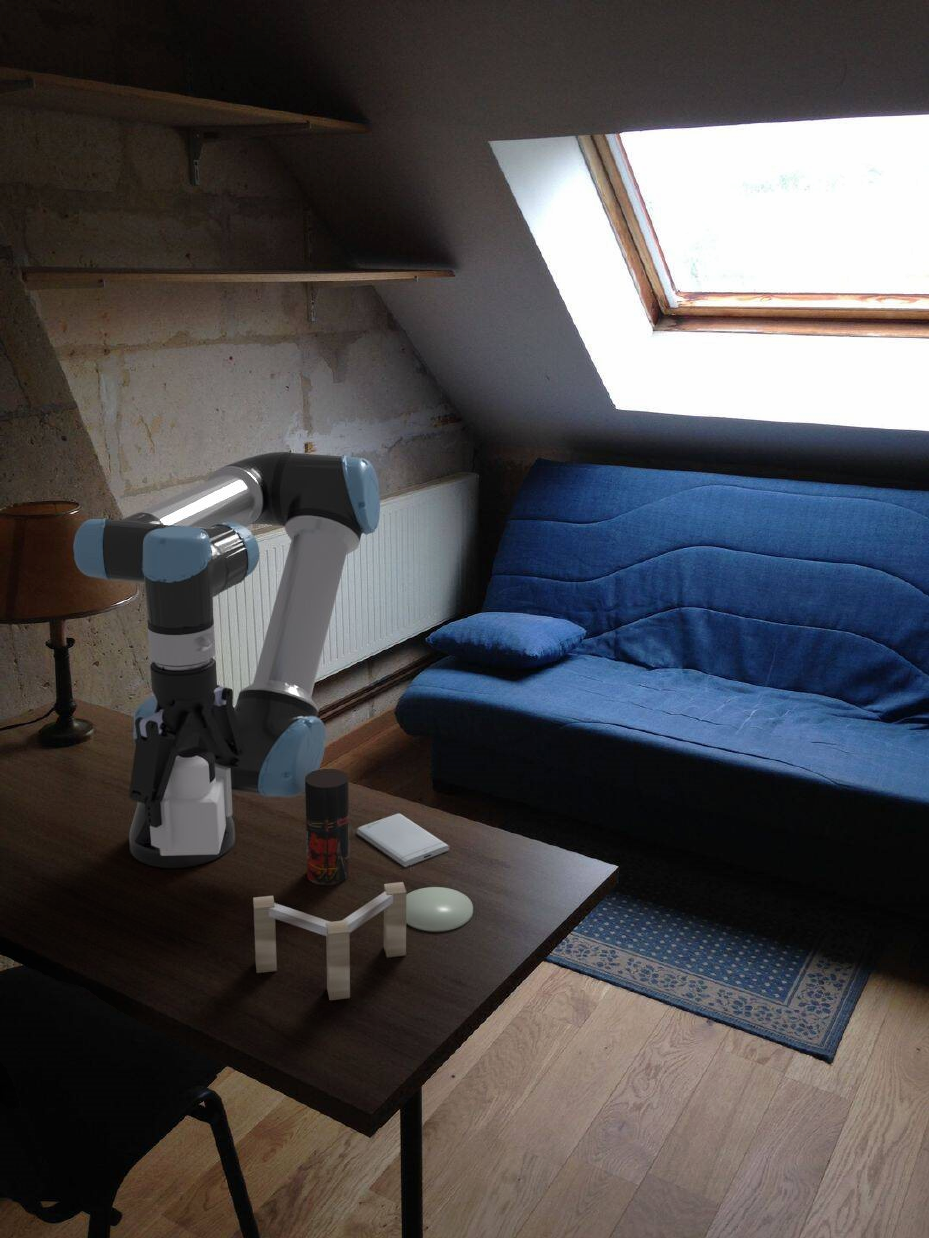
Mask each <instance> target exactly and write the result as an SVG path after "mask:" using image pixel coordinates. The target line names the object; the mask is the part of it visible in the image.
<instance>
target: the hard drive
mask: <svg viewBox="0 0 929 1238" xmlns="http://www.w3.org/2000/svg"><path fill="white" fill-rule="evenodd" d="M356 829H357V830H356V834H357V835H358V836H359V837H361V838H363V839H364V840H365V841H367V842H368V843H369V844H371V845H372V846H374V847H375V848H376V849H378V850H380V851H381V852H382V853H384V854H385V855H387V856H388V857H390V858H391V859H392V860H394V861H396V862H397V863H399V864H400V865H401V866H402V867H404V868H407V867H409V865H410V866H412V865H415V864H418V863H419V862H422V861H425V860H428V859H431V858H433V857H435V856H439V855H441V854H443V853H445V852H448V851H450V845H448V844H447V843H445V842H444V841H442V840H441V839H439V838H438V837H437V836H435V835H433V834H432V833H431V832H429V831H427V830H426V829H425V828H422V827H421V826H420V825H418V824H417V823H415V822H413V820H411V819H409V818H407V817H406V816H404V815H403V814H401V813H396V814H393V815H389V816H387V817H383V818H382V819H378V820H375V821H371V822H370V823H366V824H364V825H361V826H359V827H358V828H356Z"/></svg>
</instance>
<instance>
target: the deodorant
mask: <svg viewBox="0 0 929 1238" xmlns="http://www.w3.org/2000/svg"><path fill="white" fill-rule="evenodd" d="M349 781H350V780H349V775H348V774H347V772H345V771H342V770H340V769H335V768H321V769H320V768H319V769H318V770H316V771H313V772H311V773H309V774H308V775H307V776H306V777H305V790H304V792H305V793H304V794H305V796H304V797H305V831H306V832H305V835H306V871H307V872H306V875H307V879H308V881H310V882H311V883H313V884H315V885H319V886H334V885H338V884H341V883H344V882H345V881H346V880H348V878H349V876H350V813H349V812H350V808H349V807H350V803H349V801H350V799H349V798H350V796H349V795H350V793H349V787H350V786H349V785H350V784H349Z"/></svg>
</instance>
